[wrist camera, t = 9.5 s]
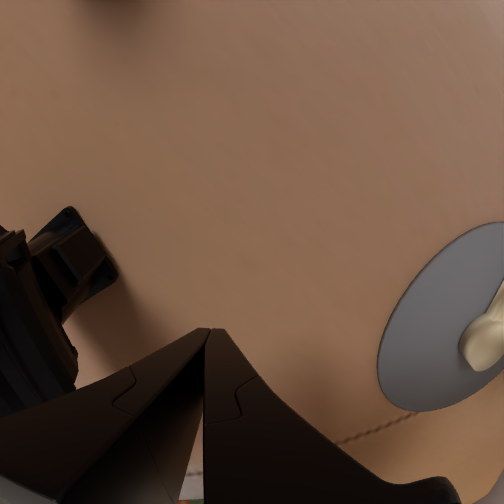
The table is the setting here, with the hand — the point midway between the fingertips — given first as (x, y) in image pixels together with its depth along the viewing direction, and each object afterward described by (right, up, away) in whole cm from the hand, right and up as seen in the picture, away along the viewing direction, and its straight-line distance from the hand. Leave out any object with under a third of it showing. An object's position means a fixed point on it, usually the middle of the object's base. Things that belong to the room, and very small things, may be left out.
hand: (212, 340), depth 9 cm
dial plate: (+23, -5, +15) cm, 28 cm away
